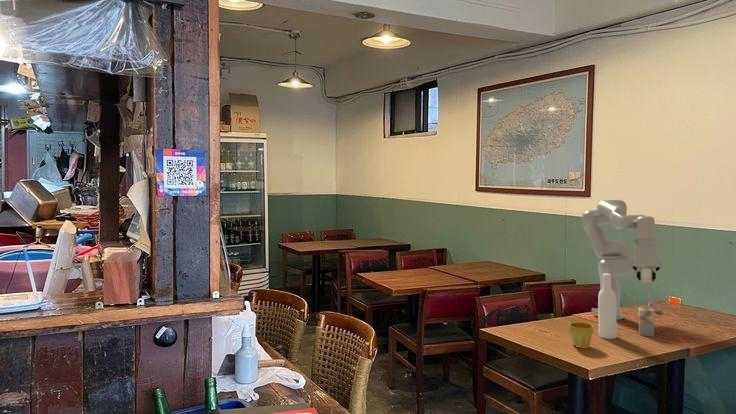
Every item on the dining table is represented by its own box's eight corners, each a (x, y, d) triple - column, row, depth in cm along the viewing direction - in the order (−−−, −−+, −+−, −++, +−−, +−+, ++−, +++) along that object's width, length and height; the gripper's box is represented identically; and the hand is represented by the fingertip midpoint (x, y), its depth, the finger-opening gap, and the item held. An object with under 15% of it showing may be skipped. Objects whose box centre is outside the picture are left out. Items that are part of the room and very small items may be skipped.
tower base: (639, 335, 241) (639, 322, 241) (638, 331, 246) (638, 319, 246) (654, 336, 239) (654, 323, 238) (652, 332, 244) (652, 320, 244)
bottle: (609, 340, 235) (608, 276, 233) (594, 336, 242) (593, 273, 240) (620, 337, 239) (619, 274, 237) (605, 333, 246) (605, 271, 244)
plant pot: (599, 348, 225) (598, 326, 225) (579, 351, 222) (579, 329, 222) (583, 341, 235) (582, 320, 234) (564, 344, 232) (563, 323, 232)
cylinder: (640, 282, 240) (640, 268, 239) (639, 280, 244) (639, 266, 244) (652, 283, 238) (652, 268, 237) (651, 281, 242) (651, 266, 242)
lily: (649, 316, 274) (659, 302, 271) (631, 304, 284) (641, 290, 281) (660, 319, 280) (670, 305, 278) (643, 307, 290) (652, 293, 287)
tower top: (639, 322, 241) (639, 310, 240) (638, 319, 246) (638, 307, 246) (654, 323, 238) (653, 311, 238) (652, 320, 244) (652, 308, 243)
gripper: (625, 243, 240) (626, 281, 241) (667, 243, 233) (667, 282, 234) (625, 241, 247) (625, 278, 248) (665, 241, 240) (665, 279, 241)
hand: (646, 279), depth 241 cm, fingers closed on cylinder, 5 cm apart
